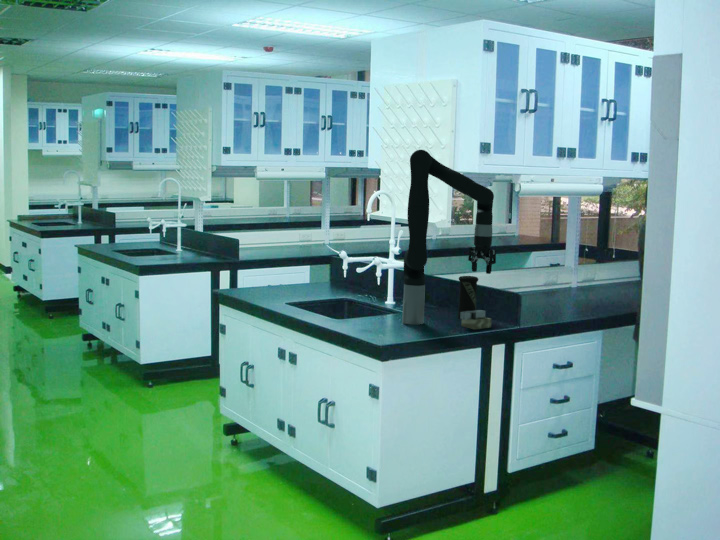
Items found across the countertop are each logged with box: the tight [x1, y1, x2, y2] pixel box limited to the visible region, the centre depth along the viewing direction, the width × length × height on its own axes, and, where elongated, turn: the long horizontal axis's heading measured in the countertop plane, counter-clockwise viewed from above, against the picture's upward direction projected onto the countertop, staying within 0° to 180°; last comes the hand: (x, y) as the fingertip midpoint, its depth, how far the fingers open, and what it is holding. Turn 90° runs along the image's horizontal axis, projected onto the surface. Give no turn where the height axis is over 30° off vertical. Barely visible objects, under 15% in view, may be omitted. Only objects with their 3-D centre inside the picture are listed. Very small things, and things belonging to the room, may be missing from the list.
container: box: [457, 275, 479, 320], centre depth 345 cm, size 9×9×20 cm
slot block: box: [460, 312, 492, 330], centre depth 326 cm, size 10×8×7 cm
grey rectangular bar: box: [459, 309, 486, 320], centre depth 325 cm, size 3×3×12 cm
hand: (481, 272), depth 325 cm, fingers open, 8 cm apart
